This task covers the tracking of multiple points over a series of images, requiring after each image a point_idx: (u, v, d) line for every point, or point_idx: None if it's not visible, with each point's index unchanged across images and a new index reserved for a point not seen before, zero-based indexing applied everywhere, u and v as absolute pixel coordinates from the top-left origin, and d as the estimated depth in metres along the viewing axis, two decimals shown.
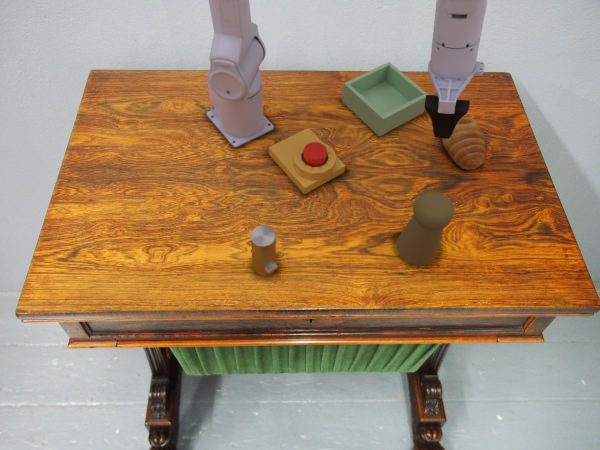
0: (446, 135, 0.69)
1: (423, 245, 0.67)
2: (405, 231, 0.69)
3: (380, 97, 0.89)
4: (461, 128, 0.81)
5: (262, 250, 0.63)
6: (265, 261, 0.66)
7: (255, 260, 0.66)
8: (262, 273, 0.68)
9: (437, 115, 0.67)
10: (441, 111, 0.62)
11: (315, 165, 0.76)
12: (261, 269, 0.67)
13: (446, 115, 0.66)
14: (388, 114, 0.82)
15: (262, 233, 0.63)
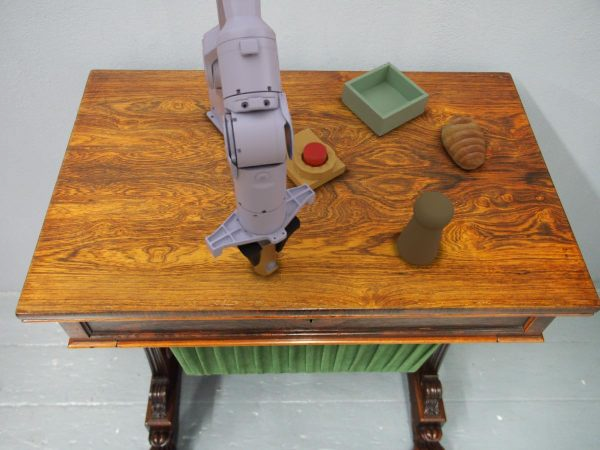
0: (251, 262, 0.65)
1: (423, 245, 0.67)
2: (405, 231, 0.69)
3: (380, 97, 0.89)
4: (461, 128, 0.81)
5: (262, 250, 0.63)
6: (265, 261, 0.66)
7: None
8: (262, 273, 0.68)
9: None
10: (207, 247, 0.58)
11: (315, 165, 0.76)
12: (261, 269, 0.67)
13: None
14: (388, 114, 0.82)
15: None
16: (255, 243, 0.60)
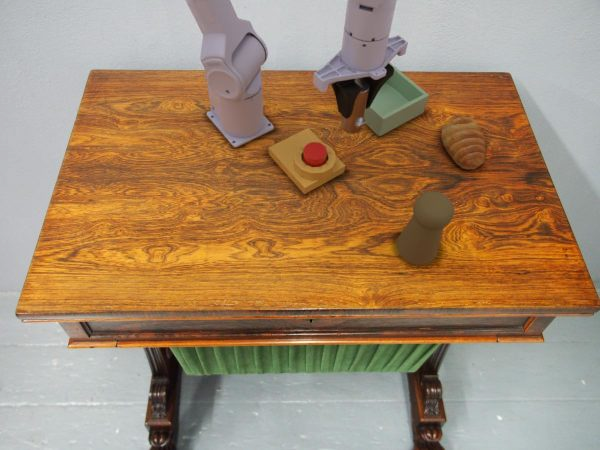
0: (344, 114, 0.71)
1: (423, 245, 0.67)
2: (405, 231, 0.69)
3: (380, 97, 0.89)
4: (461, 128, 0.81)
5: (357, 98, 0.69)
6: (357, 113, 0.72)
7: None
8: (350, 129, 0.74)
9: (339, 88, 0.69)
10: (314, 83, 0.64)
11: (315, 165, 0.76)
12: (351, 124, 0.73)
13: None
14: (388, 114, 0.82)
15: (357, 83, 0.69)
16: (355, 84, 0.66)
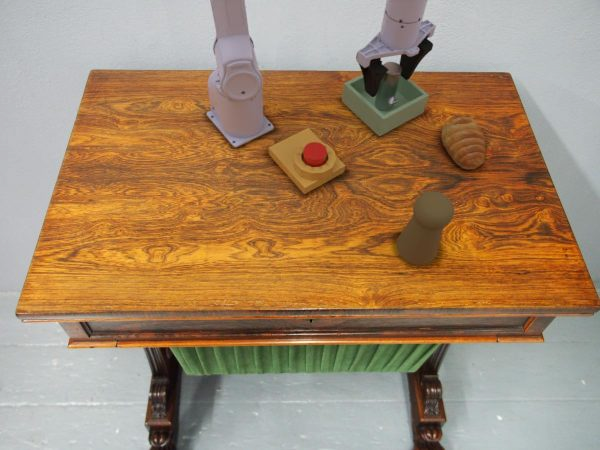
0: (371, 93, 0.82)
1: (423, 245, 0.67)
2: (405, 231, 0.69)
3: None
4: (461, 128, 0.81)
5: (391, 79, 0.81)
6: (390, 93, 0.84)
7: (381, 93, 0.84)
8: (383, 107, 0.86)
9: (367, 70, 0.79)
10: (358, 60, 0.76)
11: (315, 165, 0.76)
12: (384, 103, 0.85)
13: None
14: (388, 114, 0.82)
15: (391, 66, 0.81)
16: (382, 65, 0.76)
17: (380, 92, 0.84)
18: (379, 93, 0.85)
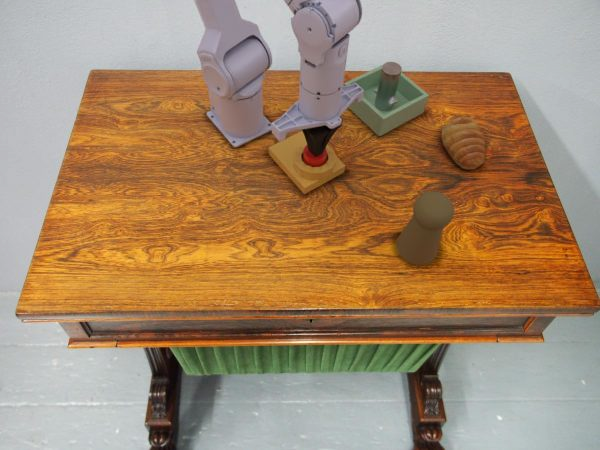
0: (314, 152, 0.75)
1: (423, 245, 0.67)
2: (405, 231, 0.69)
3: None
4: (461, 128, 0.81)
5: (391, 79, 0.81)
6: (390, 93, 0.84)
7: (381, 93, 0.84)
8: (383, 107, 0.86)
9: None
10: (273, 132, 0.67)
11: (315, 165, 0.76)
12: (384, 103, 0.85)
13: None
14: (388, 114, 0.82)
15: (391, 66, 0.81)
16: (322, 127, 0.69)
17: (380, 92, 0.84)
18: (379, 93, 0.85)
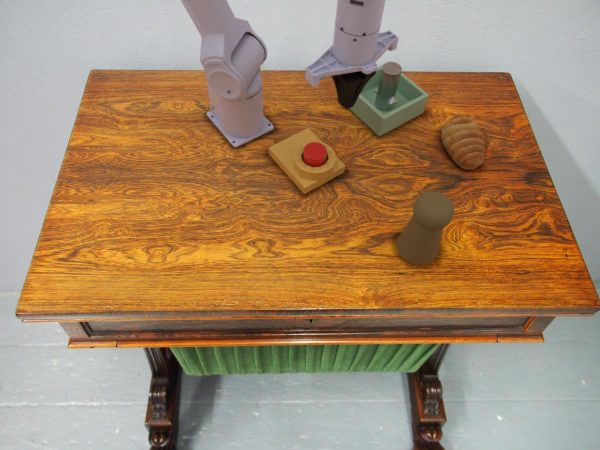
0: (344, 105, 0.72)
1: (423, 245, 0.67)
2: (405, 231, 0.69)
3: None
4: (461, 127, 0.81)
5: (391, 79, 0.81)
6: (390, 93, 0.84)
7: (381, 93, 0.84)
8: (383, 107, 0.86)
9: (339, 79, 0.70)
10: (306, 78, 0.65)
11: (315, 165, 0.76)
12: (384, 103, 0.85)
13: None
14: (388, 114, 0.82)
15: (391, 66, 0.81)
16: (355, 74, 0.67)
17: (380, 92, 0.84)
18: (379, 93, 0.85)
